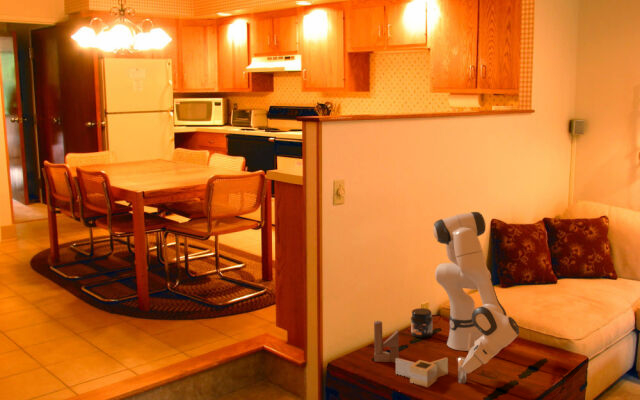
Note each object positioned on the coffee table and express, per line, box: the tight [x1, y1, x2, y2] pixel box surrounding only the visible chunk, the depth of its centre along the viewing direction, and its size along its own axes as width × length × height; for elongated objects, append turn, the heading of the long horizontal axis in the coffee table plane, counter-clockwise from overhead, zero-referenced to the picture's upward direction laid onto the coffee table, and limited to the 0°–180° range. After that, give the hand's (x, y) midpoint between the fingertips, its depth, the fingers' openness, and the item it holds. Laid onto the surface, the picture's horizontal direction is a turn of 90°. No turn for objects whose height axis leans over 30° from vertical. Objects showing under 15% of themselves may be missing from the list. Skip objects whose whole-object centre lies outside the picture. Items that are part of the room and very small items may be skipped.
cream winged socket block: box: [394, 356, 449, 388], centre depth 262 cm, size 18×16×7 cm
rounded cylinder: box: [457, 356, 467, 384], centre depth 254 cm, size 3×3×10 cm
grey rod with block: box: [373, 320, 400, 363], centre depth 277 cm, size 4×11×18 cm, turn 81°
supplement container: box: [410, 307, 433, 339], centre depth 306 cm, size 10×10×12 cm
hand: (460, 367), depth 254 cm, fingers open, 4 cm apart
